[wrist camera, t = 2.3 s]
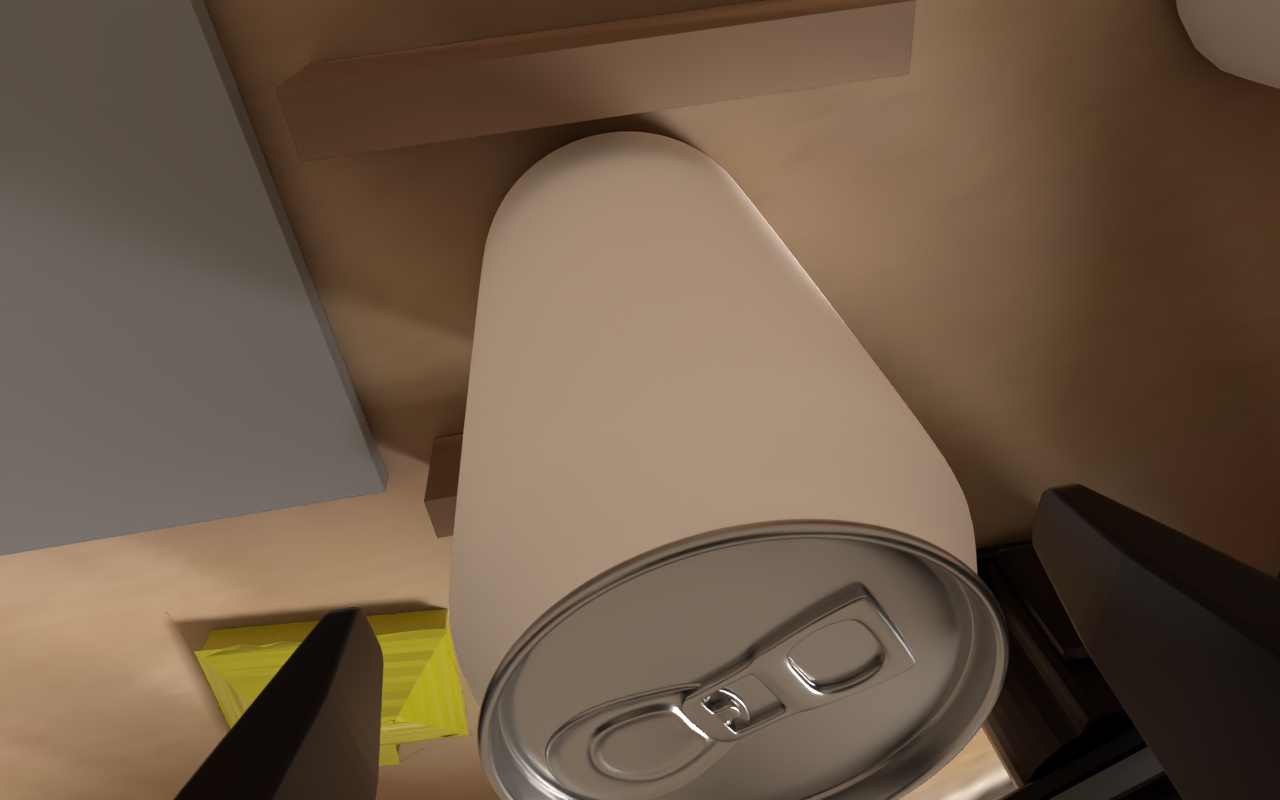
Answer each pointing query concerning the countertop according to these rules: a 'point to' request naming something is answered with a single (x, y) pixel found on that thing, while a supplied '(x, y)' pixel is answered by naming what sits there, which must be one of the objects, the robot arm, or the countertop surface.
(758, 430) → the can
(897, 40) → the holder
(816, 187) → the countertop surface
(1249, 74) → the cup
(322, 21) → the countertop surface
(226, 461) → the mat
